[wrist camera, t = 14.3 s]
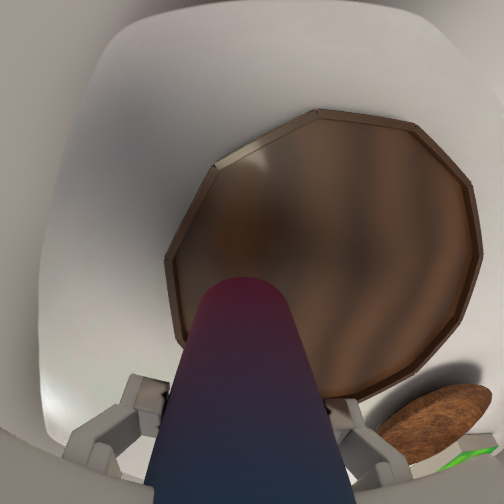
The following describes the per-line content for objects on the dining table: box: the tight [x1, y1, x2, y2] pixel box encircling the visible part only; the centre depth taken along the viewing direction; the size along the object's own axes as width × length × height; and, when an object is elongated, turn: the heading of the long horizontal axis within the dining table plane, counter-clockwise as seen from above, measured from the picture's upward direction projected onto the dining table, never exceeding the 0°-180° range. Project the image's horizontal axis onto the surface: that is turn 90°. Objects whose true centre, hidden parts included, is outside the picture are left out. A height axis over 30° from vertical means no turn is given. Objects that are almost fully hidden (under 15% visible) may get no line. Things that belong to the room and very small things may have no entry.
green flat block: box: [410, 434, 499, 479], centre depth 44 cm, size 25×25×5 cm
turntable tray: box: [164, 109, 484, 403], centre depth 15 cm, size 26×26×16 cm
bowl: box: [376, 383, 492, 465], centre depth 32 cm, size 20×22×5 cm
